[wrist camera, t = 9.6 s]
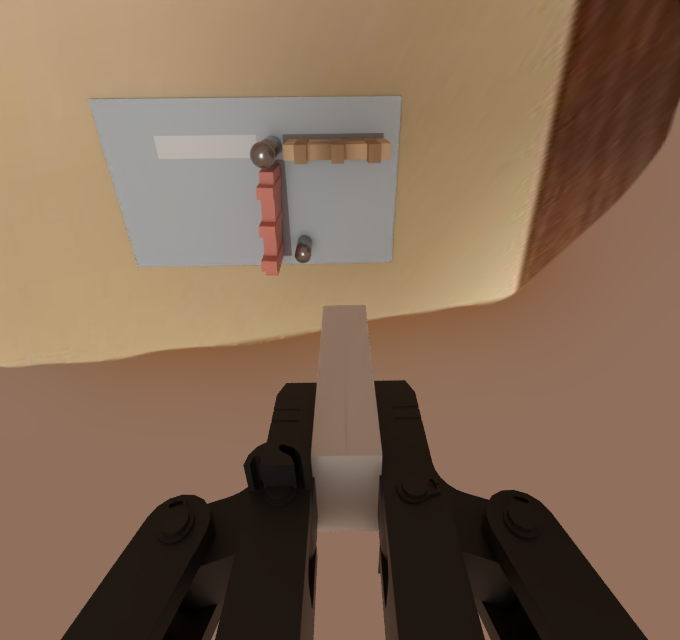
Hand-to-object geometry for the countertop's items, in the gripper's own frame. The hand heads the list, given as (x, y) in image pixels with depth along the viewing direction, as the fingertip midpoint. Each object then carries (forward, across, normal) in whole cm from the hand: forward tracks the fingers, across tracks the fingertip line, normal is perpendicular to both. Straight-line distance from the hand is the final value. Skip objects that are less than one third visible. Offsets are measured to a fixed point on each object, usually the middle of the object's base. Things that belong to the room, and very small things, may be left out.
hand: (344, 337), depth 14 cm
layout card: (+28, -9, 0) cm, 29 cm away
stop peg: (+28, -4, -6) cm, 29 cm away
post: (+28, -7, +4) cm, 29 cm away
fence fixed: (+28, -1, +4) cm, 28 cm away
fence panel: (+27, -7, -3) cm, 28 cm away
